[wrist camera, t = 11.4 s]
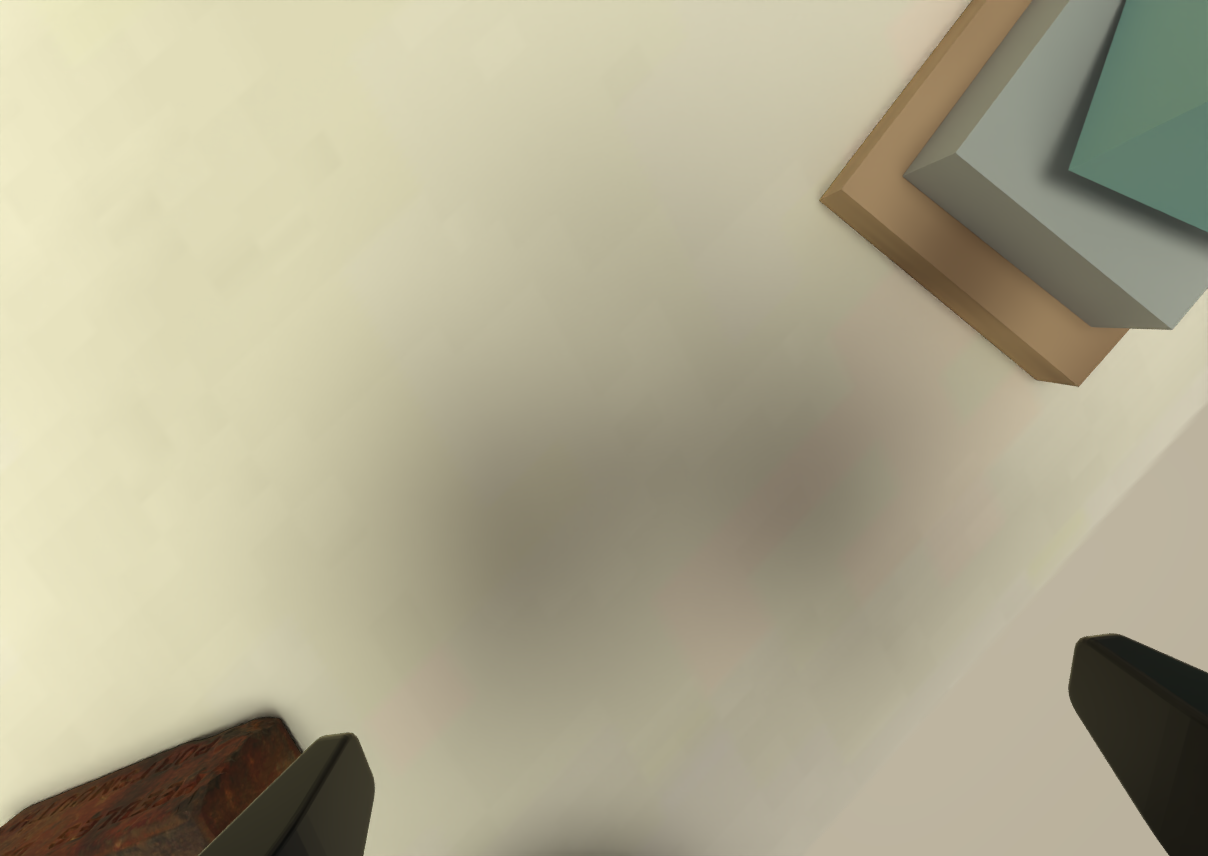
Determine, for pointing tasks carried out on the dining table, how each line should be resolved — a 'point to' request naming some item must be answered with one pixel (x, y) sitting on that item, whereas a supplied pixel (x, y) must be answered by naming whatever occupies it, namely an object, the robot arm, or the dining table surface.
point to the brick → (158, 799)
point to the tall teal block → (1153, 110)
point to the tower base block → (940, 242)
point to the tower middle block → (1058, 177)
